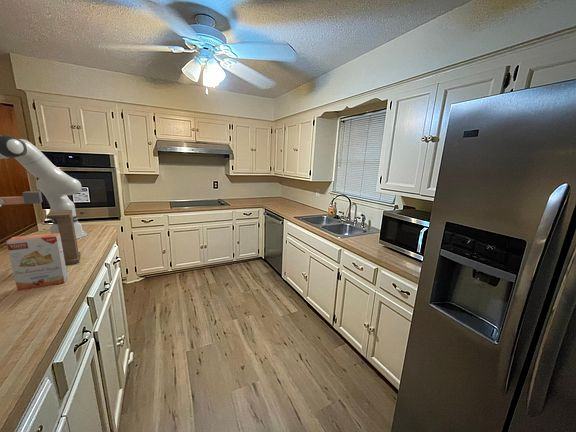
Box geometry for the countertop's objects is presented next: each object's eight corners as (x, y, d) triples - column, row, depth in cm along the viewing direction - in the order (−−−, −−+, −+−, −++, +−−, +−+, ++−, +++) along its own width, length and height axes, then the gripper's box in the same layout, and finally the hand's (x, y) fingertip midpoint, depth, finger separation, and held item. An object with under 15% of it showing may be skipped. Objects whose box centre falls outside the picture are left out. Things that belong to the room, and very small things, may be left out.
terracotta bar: (-9, 204, 105) (-12, 192, 104) (42, 201, 114) (40, 191, 113) (-14, 206, 101) (-17, 194, 100) (40, 203, 110) (38, 192, 109)
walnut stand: (59, 258, 125) (50, 211, 119) (80, 255, 130) (73, 209, 124) (55, 267, 115) (46, 215, 110) (79, 263, 120) (70, 214, 115)
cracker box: (16, 292, 94) (4, 240, 89) (23, 285, 99) (11, 236, 94) (64, 284, 101) (56, 236, 96) (68, 277, 106) (60, 232, 101)
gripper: (-56, 217, 90) (-11, 197, 96) (-33, 207, 106) (4, 190, 111) (-39, 230, 93) (4, 209, 99) (-19, 219, 109) (17, 202, 115)
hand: (4, 199), depth 105 cm, fingers closed on terracotta bar, 3 cm apart
